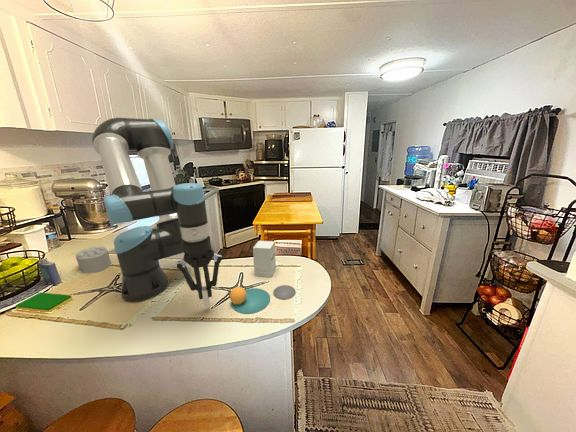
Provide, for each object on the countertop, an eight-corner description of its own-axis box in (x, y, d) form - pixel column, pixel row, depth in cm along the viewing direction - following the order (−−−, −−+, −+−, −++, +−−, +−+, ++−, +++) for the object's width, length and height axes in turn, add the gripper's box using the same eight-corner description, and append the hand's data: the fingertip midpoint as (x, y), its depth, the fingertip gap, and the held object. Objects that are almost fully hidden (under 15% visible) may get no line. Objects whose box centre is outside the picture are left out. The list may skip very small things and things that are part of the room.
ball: (251, 299, 74) (238, 310, 73) (246, 290, 79) (233, 301, 78) (243, 288, 72) (228, 300, 70) (238, 280, 77) (224, 291, 75)
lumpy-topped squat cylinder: (105, 258, 109) (100, 242, 107) (116, 265, 102) (111, 248, 100) (77, 268, 101) (71, 250, 99) (87, 276, 94) (81, 258, 92)
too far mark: (276, 301, 75) (276, 301, 75) (270, 288, 82) (270, 288, 82) (298, 296, 78) (298, 295, 78) (291, 283, 85) (291, 283, 85)
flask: (63, 282, 91) (54, 258, 87) (54, 286, 88) (44, 262, 85) (51, 278, 94) (41, 255, 91) (41, 281, 91) (31, 258, 88)
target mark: (233, 318, 69) (233, 317, 68) (229, 293, 80) (229, 293, 80) (274, 307, 72) (274, 307, 72) (265, 285, 84) (265, 285, 84)
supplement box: (271, 277, 89) (270, 248, 86) (254, 275, 91) (251, 247, 87) (276, 268, 96) (275, 241, 93) (260, 266, 98) (258, 240, 94)
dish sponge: (50, 315, 73) (48, 308, 72) (17, 311, 75) (14, 305, 74) (73, 300, 80) (71, 295, 79) (42, 297, 82) (40, 292, 81)
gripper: (169, 246, 59) (184, 319, 66) (220, 238, 63) (229, 308, 70) (173, 236, 66) (186, 303, 73) (218, 230, 70) (227, 294, 77)
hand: (207, 305), depth 72 cm, fingers closed
